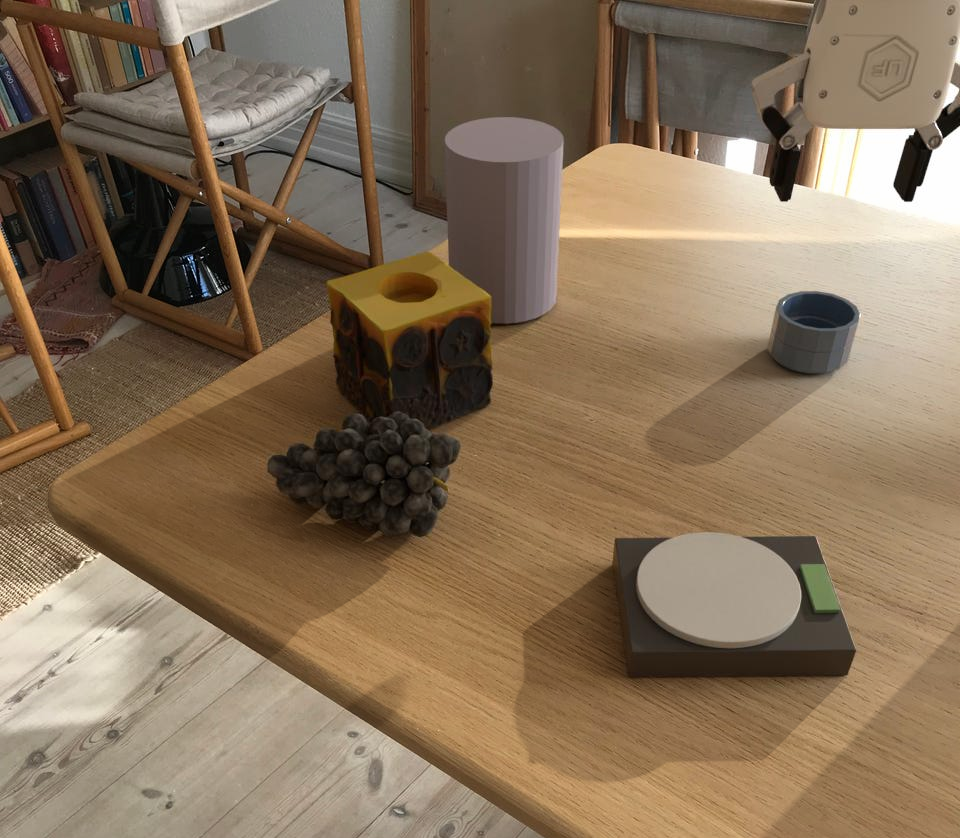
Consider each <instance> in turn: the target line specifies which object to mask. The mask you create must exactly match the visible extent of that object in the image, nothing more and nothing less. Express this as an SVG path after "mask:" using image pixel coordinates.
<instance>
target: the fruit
mask: <svg viewBox="0 0 960 838" xmlns="http://www.w3.org/2000/svg"><path fill="white" fill-rule="evenodd" d="M367 421H368V420H367V418H366V417H365V416H363V415H362V414H361V413H354V412H351V413H349V414H347V415H345V417H344V419H343V421H342V422H341V426H342V430H339V431H337V430H335V429H334V428H331V427H329V426H326V427H323V428H320V429H318V431H317V432H316V434H315V440H314V442H313V444H312V446H313V448H311V447H310V446H308V445H307V444H305V443H302V442H296V443H294V444H291V445H289V447H288V449H287V451H286V455H283V454H273V455H272V456H271V457H270V458H269V459H268V460H267V466H266V468H267V473H268V474H269V475H270V476H271V477H272V478H274V479H275V486H276V487H277V489H278V491H279V492H280V493H281V494H283V495H285V496H287V497H288V498H289V499H290V501H292V502H293V503H296V504H297V505H299V504H304V503H308V505H310V506H312V507H314V508H317V509H320V508H323V507H325V513H326V514H327V515H328V516H329V518H330V519H331V520H335V521H339V520H343V519H344V520H345V521H346V522H347V523H349V524H358V523H359V524H360V525H361V526H362V527H363V528H364V529H367V530H369V531H370V530H375V529H376V527H377V529H378V530H379V532H381V533H382V534H383V535H385V536H387V537H389V536H397V535H402V534H406V533H407V532H408V531H410V534H411V535H413V536H415V537H418V538H423V537H426V536H428V535H430V534H431V533H432V532H433V529H434V527H435V526H436V523H437V521H438V519H439V511H441V510H442V509H443V508H445V507H446V505H447V502H448V498H449V496H448V494H447V493H450V492H451V491H450V488H449V487H448V485H446V483H447V481H448V480H449V478H450V476H451V469H450V467H449V466H451V465H453V464H454V463H455V462H456V461H457V459H458V457H459V454H460V451H461V447H462V445H461V443H460V441H459V440H458V439H457V438H455V437H454V436H450V435H447V434H445V433H442V432H437V433H433V434H432V432H431V431H430V430H429V429H426V428H425V427H424V424H423V423H422V422H420V421H419V420H417V419H410V418H409V416H408V415H407V414H404V413H402V412H399V411H398V412H394V413H392V414H391V415H390V416H388V417H387V418H385V417H378V418H376V419H374V420H372V421H370V423H369V424H368V422H367Z"/></svg>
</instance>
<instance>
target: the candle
mask: <svg viewBox="0 0 960 838" xmlns="http://www.w3.org/2000/svg"><path fill="white" fill-rule="evenodd" d="M325 285H326V291H327V295H328V302H329V309H330V311H329V313H330V325H331V328H332V337H333V355H332V356H333V363H334V368H335V372H336V378H335V384H336V388H337V390H338V391H339V392H340V393H341V394H342V395H343V396H344V397H345V398H346V399H347V400H348V401H349V403H350V404H351V405H352V406H353V407H354V408H355V409H356V410H358V411H359V414H361V415H363V416H364V418H365V419H366V420H367V421H368V422H369V421H370V422H372V420H374V419H376V418H378V417H385V418H387V417H388V416H390V415H391V414H392V413H394V412H398V411H399V412H402V413H404V414H407V415H408V416H409V418H410V419H417V420H419V421H420V422H422V423H423V424H424V427H425V428H426V429H427V430H429V429H432V428H436V427H439V426H440V425H443V424H444V423H449V422H451V421H453V420H455V419H458V418H460V417H462V416H464V415H467V414H470V413H472V412H476V411H478V410H482V409H485V408H486V407H487V406H490V405H491V402H492V397H491V391H492V388H493V385H494V381H493V380H494V379H493V373H492V371H493V360H492V334H491V330H490V328H491V325H492V324H491V296H490V295H489V294H488V293H487V292H486V291H484V290H482V289H481V288H479V287H478V286H476V285H475V284H474V283H473V282H471V281H470V280H468V279H466V278H465V277H464V276H462V275H461V274H459V273H458V272H457V271H455V270H454V269H452V268H451V267H450V266H449V263H446V262H445V261H443V260H442V259H440V258H439V257H438V256H437V255H435V254H434V253H432V252H431V251H430V252H429V251H423V252H420V253H415V254H413V255H410V256H406V257H404V258H401V259H397V260H394V261H390V262H386V263H383V264H379V265H377V266H374V267H372V268H367V269H365V270H362V271H358V272H355V273H352V274H348V275H344V276H341V277H337V278H334V279H328V280H327V281H326V282H325Z"/></svg>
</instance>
